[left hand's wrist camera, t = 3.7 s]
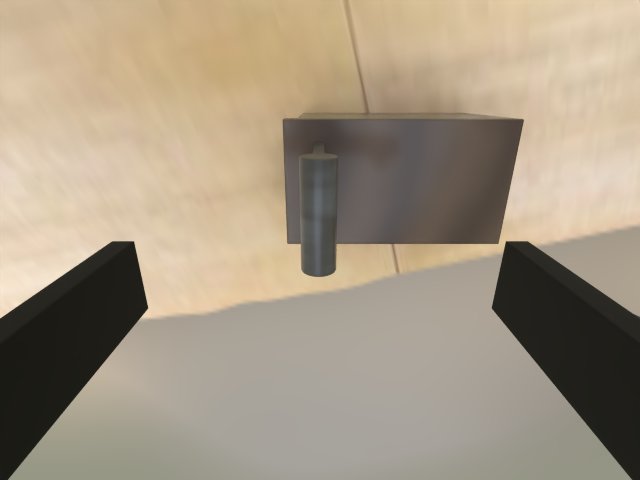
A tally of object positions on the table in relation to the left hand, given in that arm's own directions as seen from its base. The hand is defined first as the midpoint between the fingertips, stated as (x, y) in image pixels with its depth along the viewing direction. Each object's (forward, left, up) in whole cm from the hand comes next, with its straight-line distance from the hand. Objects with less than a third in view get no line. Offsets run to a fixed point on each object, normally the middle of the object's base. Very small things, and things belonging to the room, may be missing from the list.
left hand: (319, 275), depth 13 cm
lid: (+5, +2, -15) cm, 16 cm away
